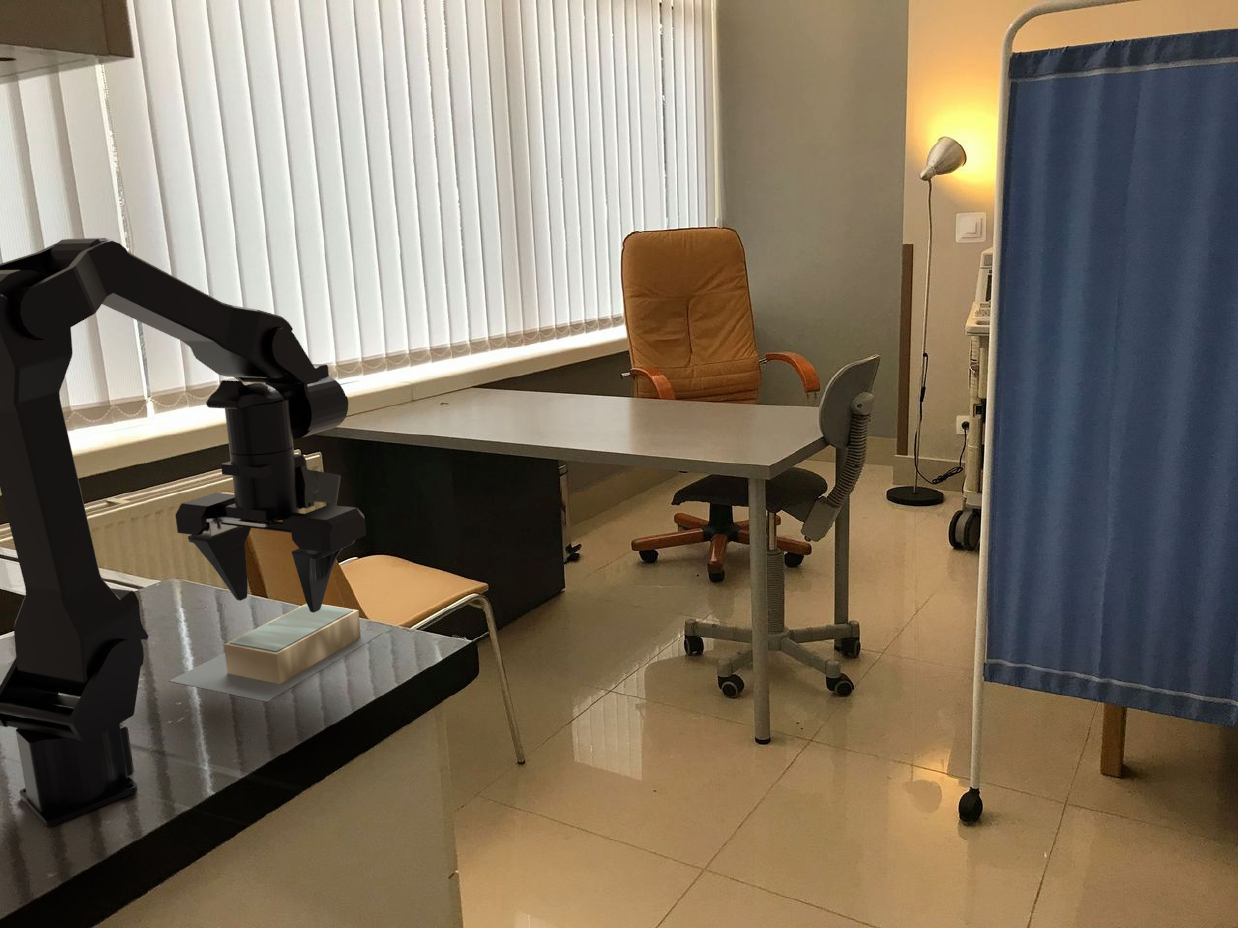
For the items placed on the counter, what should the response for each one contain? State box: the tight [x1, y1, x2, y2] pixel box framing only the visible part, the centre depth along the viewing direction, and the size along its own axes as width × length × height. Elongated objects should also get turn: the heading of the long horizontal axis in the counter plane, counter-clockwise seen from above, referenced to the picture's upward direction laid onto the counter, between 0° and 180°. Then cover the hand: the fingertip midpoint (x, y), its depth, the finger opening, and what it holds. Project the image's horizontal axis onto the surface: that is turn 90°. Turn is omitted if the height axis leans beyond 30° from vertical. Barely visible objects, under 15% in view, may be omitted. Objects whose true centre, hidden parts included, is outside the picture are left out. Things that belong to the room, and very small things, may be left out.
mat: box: [169, 629, 383, 703], centre depth 100 cm, size 17×12×1 cm
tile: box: [223, 603, 361, 684], centre depth 100 cm, size 3×6×12 cm
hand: (278, 604), depth 98 cm, fingers open, 9 cm apart
